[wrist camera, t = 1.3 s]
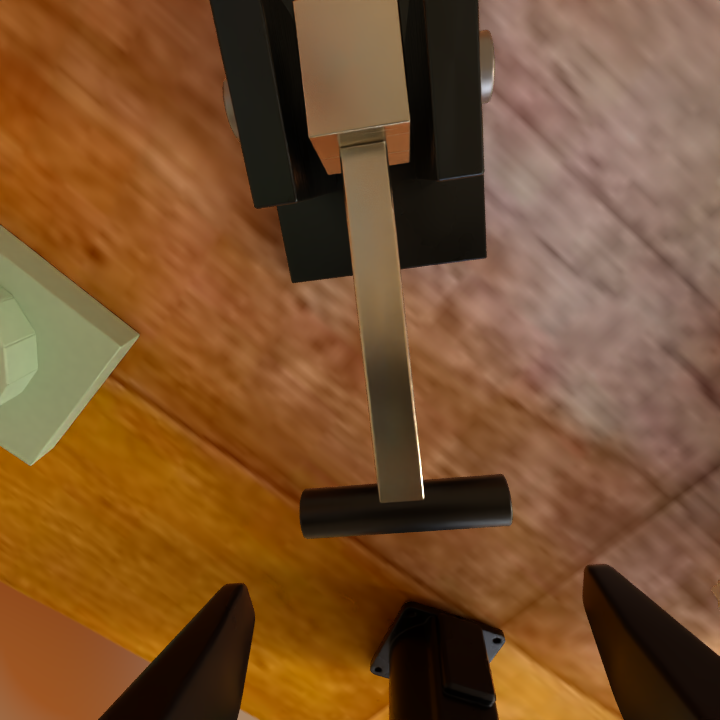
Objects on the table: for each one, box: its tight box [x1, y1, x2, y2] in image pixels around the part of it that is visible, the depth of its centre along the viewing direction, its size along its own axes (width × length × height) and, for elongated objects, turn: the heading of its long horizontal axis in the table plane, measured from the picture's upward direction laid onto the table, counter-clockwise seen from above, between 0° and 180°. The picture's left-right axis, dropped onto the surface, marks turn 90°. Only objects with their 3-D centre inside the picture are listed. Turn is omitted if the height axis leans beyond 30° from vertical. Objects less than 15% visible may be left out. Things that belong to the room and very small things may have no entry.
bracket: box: [209, 0, 495, 283], centre depth 13 cm, size 11×8×9 cm
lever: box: [292, 0, 513, 539], centre depth 11 cm, size 12×5×2 cm, turn 8°
